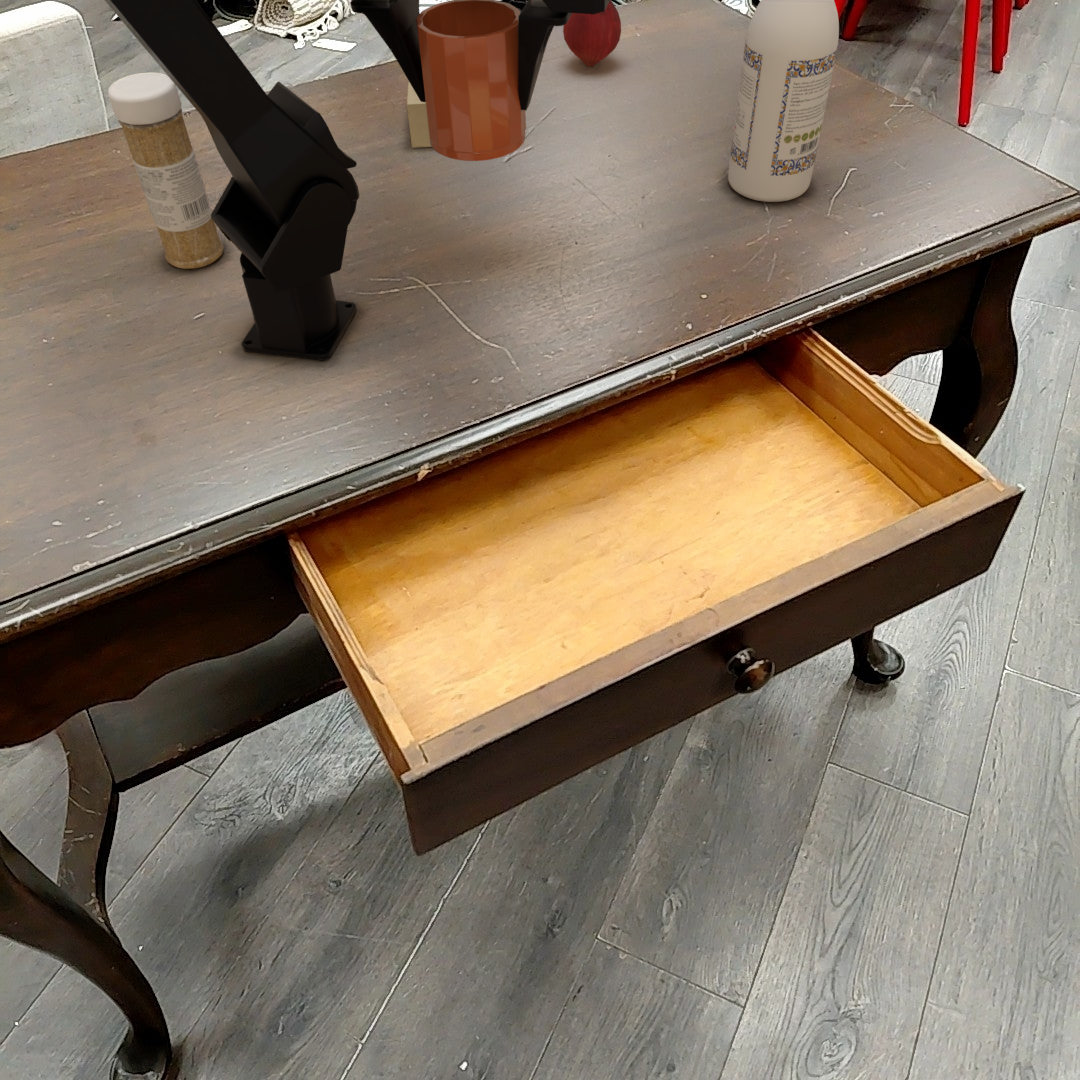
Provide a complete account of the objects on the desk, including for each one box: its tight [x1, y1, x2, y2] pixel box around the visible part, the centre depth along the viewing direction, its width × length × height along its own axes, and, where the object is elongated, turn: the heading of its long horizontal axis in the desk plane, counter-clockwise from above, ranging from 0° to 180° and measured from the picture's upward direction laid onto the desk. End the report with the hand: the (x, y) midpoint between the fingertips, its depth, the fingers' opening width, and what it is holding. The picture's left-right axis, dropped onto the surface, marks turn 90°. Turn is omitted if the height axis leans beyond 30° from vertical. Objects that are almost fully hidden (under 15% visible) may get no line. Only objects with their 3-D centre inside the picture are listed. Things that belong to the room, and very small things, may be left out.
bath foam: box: [727, 0, 840, 203], centre depth 75 cm, size 7×7×20 cm
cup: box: [416, 0, 527, 162], centre depth 66 cm, size 7×7×8 cm
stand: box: [406, 81, 432, 149], centre depth 90 cm, size 9×9×4 cm
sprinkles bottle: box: [107, 71, 224, 270], centre depth 72 cm, size 5×5×14 cm
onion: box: [562, 0, 622, 68], centre depth 97 cm, size 6×6×8 cm
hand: (475, 103), depth 67 cm, fingers closed on cup, 7 cm apart
